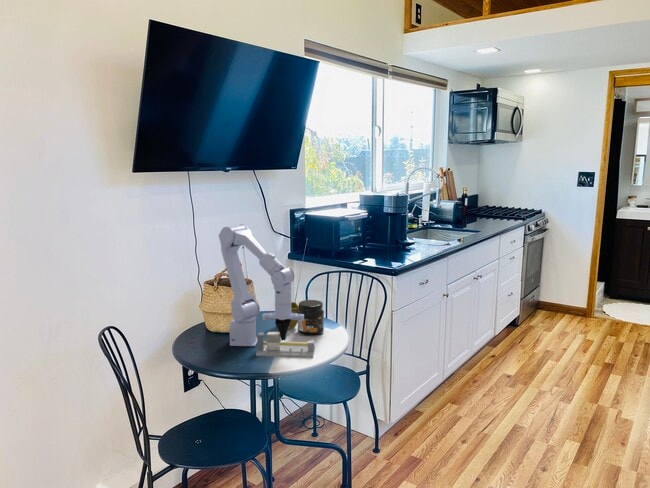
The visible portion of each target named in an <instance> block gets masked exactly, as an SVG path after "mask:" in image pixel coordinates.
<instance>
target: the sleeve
mask: <svg viewBox="0 0 650 488" xmlns="http://www.w3.org/2000/svg"><path fill="white" fill-rule="evenodd" d="M266 341H267V347H269V350H278V347H280V348H281V346H280V342H282V340H281V336H280V333H279V331H267V333H266Z"/></svg>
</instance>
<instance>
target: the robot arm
mask: <svg viewBox="0 0 650 488" xmlns="http://www.w3.org/2000/svg"><path fill="white" fill-rule="evenodd" d="M218 240H219V243H220V251H221V255H222V258H223V262H224V265H225V268H226V271H227V272H226V273H227V276H228V279H229V283H230V287H231V290H232V293H233V297H232V300H231V301H230V306H231V312H230V313H231V316H232V318H233V319H231V320H230V322H229V346H231V347H234V346H235V347H256V346H257V323H256V322H257V317H258V315H259V313H260V304H259V302H258V301H257V300H256V297H255V295H254V294H252V293H251V292H250V291H249V288H248V286H247V285H248V284H247V282H246V281H247V280H246V278H245V275H244V272H243V267H242V264H241V261H240V257H239V253H238V251H239V249H240V247H241V246H243V247H245V248H246V249H247V250H248V251H250V253H252V254H253V255H254V256H255V257H257V259H258V261H259V262H258V263H259V266H260V267H261V268H263V270H264V271H265V272H266V273H267V274H268V275H269V276H270V281H271V283H272V285H273V289H274V312H268V313H267V312H266V313H265V312H264V313H262V317H261V318H262V319H261V320H262V321H267V320H270V321H271V320H273V321H274V320H275V322H274V323H275V326H276V328H277V330H278V332H279V333H280V336H281V341H286V339H287V332H288V330H289V328H288V327H289V324H290V322H291V320H301V321H304V314H297V313H291V302H292V283H293V282H294V280H295V272H294V271H293V269H292V268H291V267H289V266H285V265H284V264H283V263H281V262H280V260H279V259H278V258H277V256H276V255H275V254H274V253H271V252H266V250H265V249H264V248H263V247H262V245H260V243H259V242H258V241H257V240H256V238H255V237H254V236H253V235H252V230H251V229H249V228H248V226H247V225H245V224H239V225H231V226H224V227H222V229H221V230H220V231H219V234H218Z"/></svg>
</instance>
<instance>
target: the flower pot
mask: <svg viewBox="0 0 650 488" xmlns="http://www.w3.org/2000/svg"><path fill="white" fill-rule="evenodd" d="M298 310H299V304H298V303H297V302H296V301H291V313H297V311H298ZM297 326H298V320H291V322H290V324H289V327H288V329H294V328H296V327H297Z"/></svg>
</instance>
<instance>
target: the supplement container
mask: <svg viewBox="0 0 650 488" xmlns="http://www.w3.org/2000/svg"><path fill="white" fill-rule="evenodd" d="M298 306H299V310H298V311H297V314H304V321H301V320H298V323H297V332H298V334H300V335H302V336H306V337H315V336H319V335H322V334H323V333H324V330H325V326H324V325H325V323H324V320H325V319H324V318H325V316H324V315H325V311H324V303H323V302H322V301H320V300H316V299H306V300H301V301H299V302H298Z"/></svg>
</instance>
